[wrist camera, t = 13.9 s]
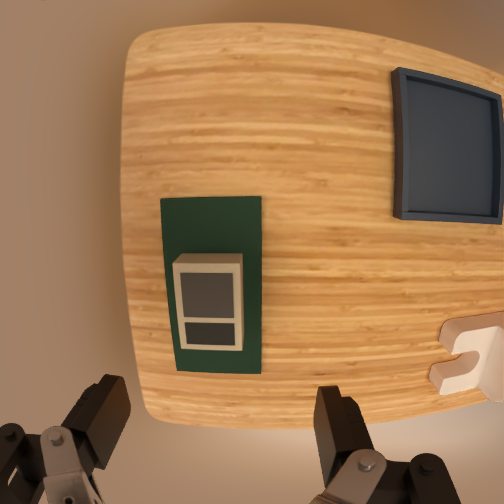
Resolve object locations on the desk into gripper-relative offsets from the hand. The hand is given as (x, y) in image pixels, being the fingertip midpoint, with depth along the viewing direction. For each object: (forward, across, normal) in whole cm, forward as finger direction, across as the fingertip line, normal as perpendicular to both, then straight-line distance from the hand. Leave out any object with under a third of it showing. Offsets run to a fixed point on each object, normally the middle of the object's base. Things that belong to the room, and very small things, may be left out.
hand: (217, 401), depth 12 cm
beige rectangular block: (+21, +3, +4) cm, 21 cm away
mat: (+21, +3, +4) cm, 22 cm away
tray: (+21, -23, -12) cm, 33 cm away
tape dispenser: (+21, -34, +12) cm, 42 cm away
